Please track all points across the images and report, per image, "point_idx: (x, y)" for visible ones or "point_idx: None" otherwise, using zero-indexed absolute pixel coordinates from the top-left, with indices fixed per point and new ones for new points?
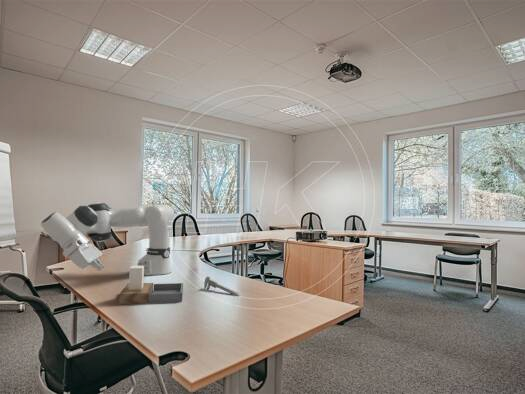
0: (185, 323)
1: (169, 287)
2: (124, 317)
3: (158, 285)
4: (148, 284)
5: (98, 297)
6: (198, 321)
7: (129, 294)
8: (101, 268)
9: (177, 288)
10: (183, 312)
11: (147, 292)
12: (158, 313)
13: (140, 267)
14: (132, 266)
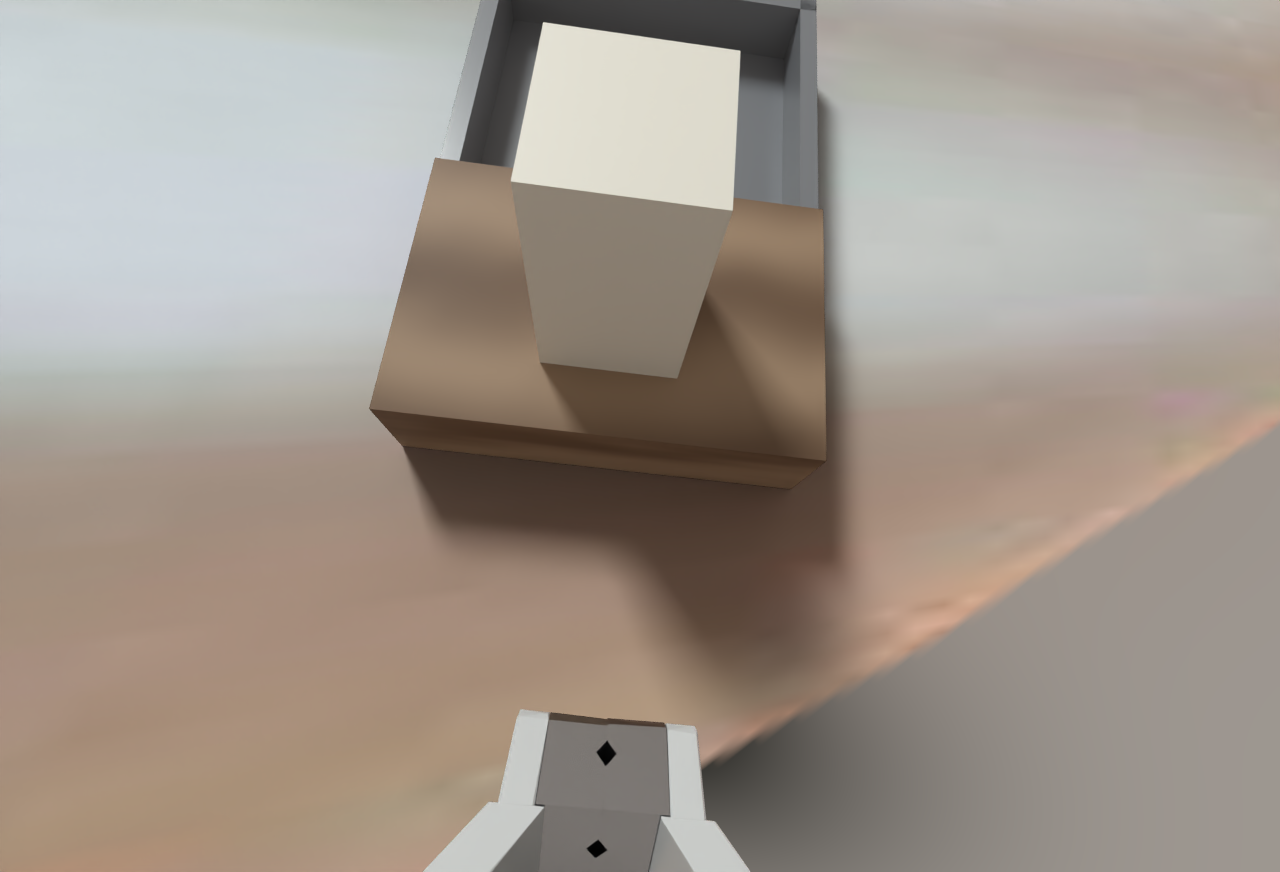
0: (1192, 97)
1: (492, 76)
2: (1114, 420)
3: (471, 136)
4: (494, 200)
5: (506, 740)
6: (1158, 40)
7: (822, 369)
8: (694, 744)
9: (507, 34)
10: (1015, 83)
11: (800, 216)
12: (1031, 212)
13: (682, 69)
14: (574, 170)
